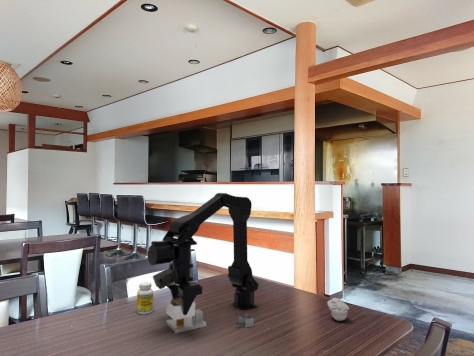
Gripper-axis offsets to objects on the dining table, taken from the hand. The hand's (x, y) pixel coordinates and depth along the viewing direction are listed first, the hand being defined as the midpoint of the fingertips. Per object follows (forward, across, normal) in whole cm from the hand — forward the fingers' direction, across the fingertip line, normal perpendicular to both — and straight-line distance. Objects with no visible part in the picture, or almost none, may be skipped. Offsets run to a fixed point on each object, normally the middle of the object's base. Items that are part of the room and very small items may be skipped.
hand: (180, 310), depth 105 cm
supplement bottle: (+5, -17, -6) cm, 19 cm away
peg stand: (+5, 0, +2) cm, 5 cm away
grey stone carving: (+5, +21, +47) cm, 52 cm away
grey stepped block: (+5, +9, +17) cm, 20 cm away
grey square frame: (+1, 0, 0) cm, 1 cm away
